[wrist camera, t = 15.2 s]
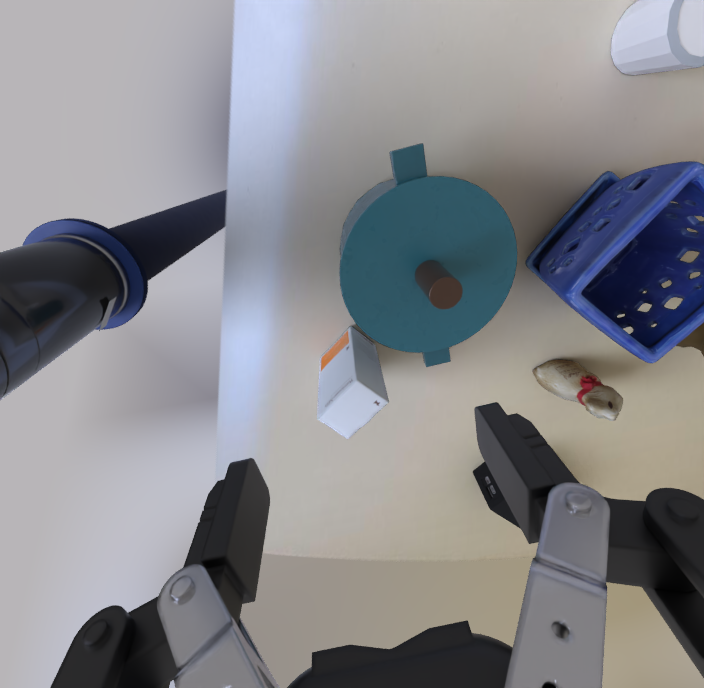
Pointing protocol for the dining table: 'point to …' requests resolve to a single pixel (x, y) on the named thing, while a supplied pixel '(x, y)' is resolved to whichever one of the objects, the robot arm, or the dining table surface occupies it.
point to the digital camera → (493, 493)
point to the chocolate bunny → (579, 387)
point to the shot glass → (659, 37)
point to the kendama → (694, 339)
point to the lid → (428, 264)
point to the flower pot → (632, 256)
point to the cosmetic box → (350, 384)
